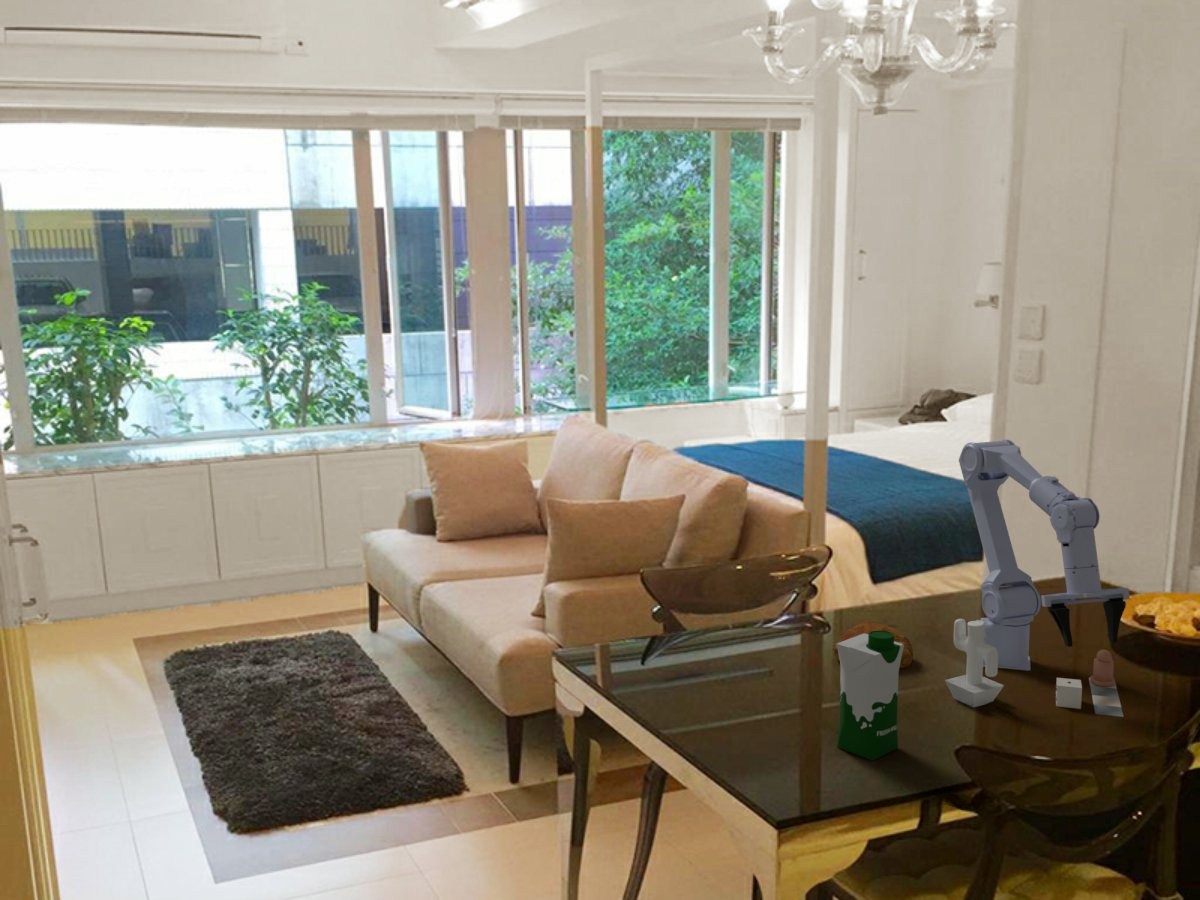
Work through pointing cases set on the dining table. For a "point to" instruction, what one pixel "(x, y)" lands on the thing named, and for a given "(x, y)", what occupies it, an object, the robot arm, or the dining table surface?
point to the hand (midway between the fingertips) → (1091, 644)
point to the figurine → (975, 665)
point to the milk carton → (869, 694)
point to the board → (1106, 700)
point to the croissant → (873, 626)
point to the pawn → (1103, 670)
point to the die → (1068, 693)
